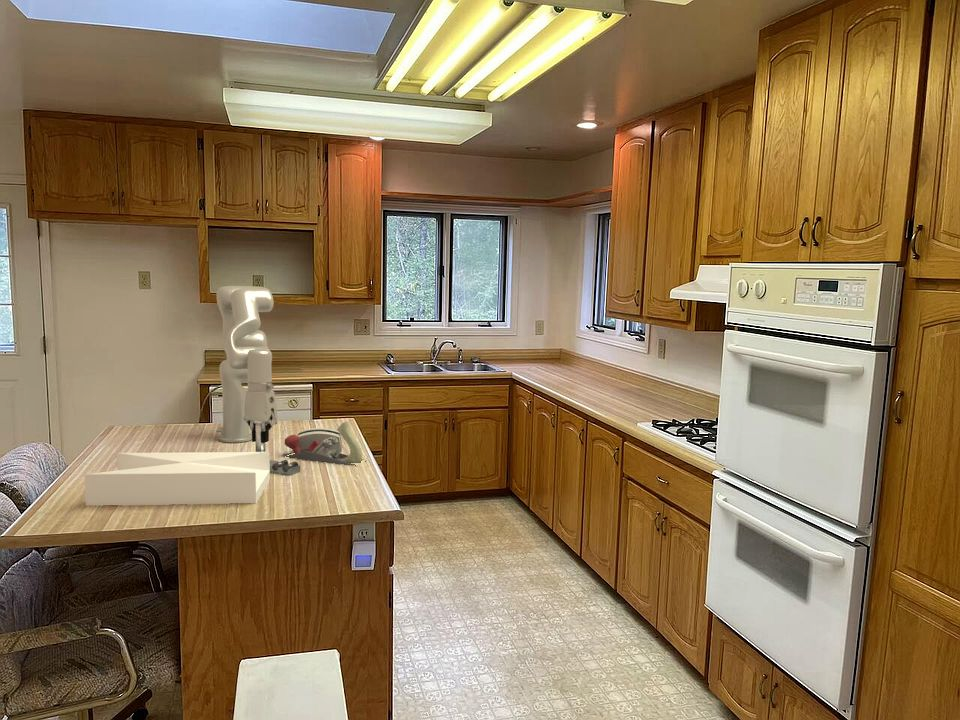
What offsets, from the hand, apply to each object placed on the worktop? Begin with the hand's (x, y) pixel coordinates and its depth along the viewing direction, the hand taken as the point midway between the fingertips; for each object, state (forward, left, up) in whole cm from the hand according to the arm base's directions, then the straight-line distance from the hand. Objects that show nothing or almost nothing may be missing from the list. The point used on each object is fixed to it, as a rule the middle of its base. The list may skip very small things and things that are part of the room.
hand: (260, 441), depth 224 cm
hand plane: (+12, +19, -10) cm, 24 cm away
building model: (-3, -30, -10) cm, 32 cm away
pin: (0, 0, -4) cm, 4 cm away
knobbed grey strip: (-2, 0, -9) cm, 9 cm away
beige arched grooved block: (+4, +27, -9) cm, 29 cm away
